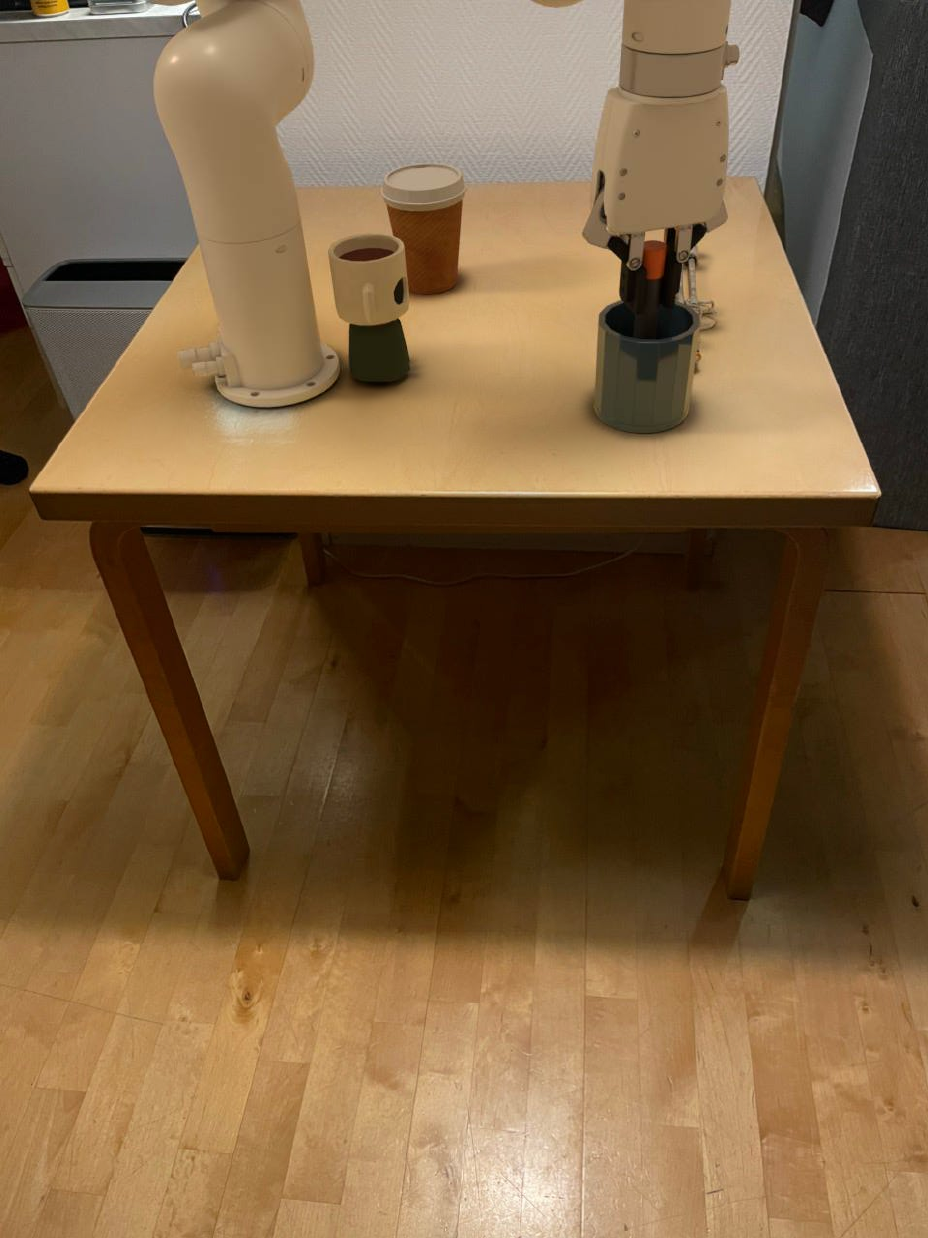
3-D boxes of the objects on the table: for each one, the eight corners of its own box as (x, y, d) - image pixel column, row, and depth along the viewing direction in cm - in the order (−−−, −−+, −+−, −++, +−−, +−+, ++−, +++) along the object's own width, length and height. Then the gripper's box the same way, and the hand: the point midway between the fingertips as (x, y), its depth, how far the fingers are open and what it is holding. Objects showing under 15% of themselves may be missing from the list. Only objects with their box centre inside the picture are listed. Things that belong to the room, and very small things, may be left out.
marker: (632, 406, 90) (646, 251, 80) (623, 394, 92) (636, 241, 82) (654, 402, 90) (671, 248, 80) (644, 390, 92) (660, 238, 82)
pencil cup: (614, 440, 88) (621, 349, 82) (580, 393, 94) (584, 305, 88) (704, 423, 89) (717, 332, 83) (664, 377, 96) (674, 290, 89)
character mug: (416, 398, 95) (405, 269, 86) (343, 404, 95) (325, 274, 86) (414, 345, 103) (403, 221, 94) (347, 350, 103) (330, 226, 94)
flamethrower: (618, 368, 96) (721, 377, 95) (621, 343, 94) (726, 351, 93) (626, 253, 117) (710, 259, 116) (629, 231, 116) (714, 237, 115)
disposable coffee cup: (483, 271, 115) (480, 165, 107) (449, 305, 109) (443, 196, 101) (412, 261, 118) (404, 157, 110) (375, 293, 112) (363, 186, 104)
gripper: (745, 45, 76) (712, 274, 89) (551, 69, 73) (546, 301, 86) (793, 70, 71) (751, 309, 83) (587, 96, 68) (576, 339, 81)
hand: (647, 303), depth 85 cm, fingers closed on marker, 2 cm apart
